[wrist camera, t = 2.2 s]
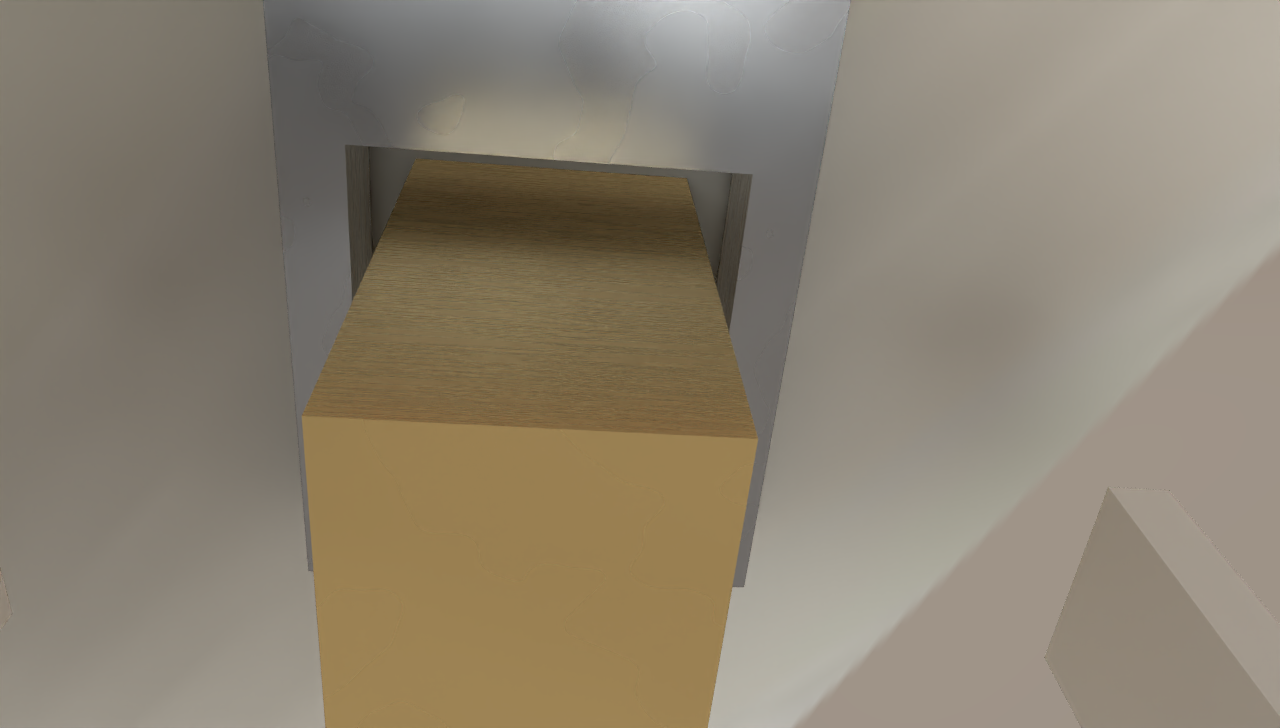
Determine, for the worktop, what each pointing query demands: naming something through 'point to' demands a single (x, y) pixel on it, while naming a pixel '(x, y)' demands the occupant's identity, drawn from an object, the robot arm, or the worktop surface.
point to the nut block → (528, 459)
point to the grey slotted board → (556, 137)
